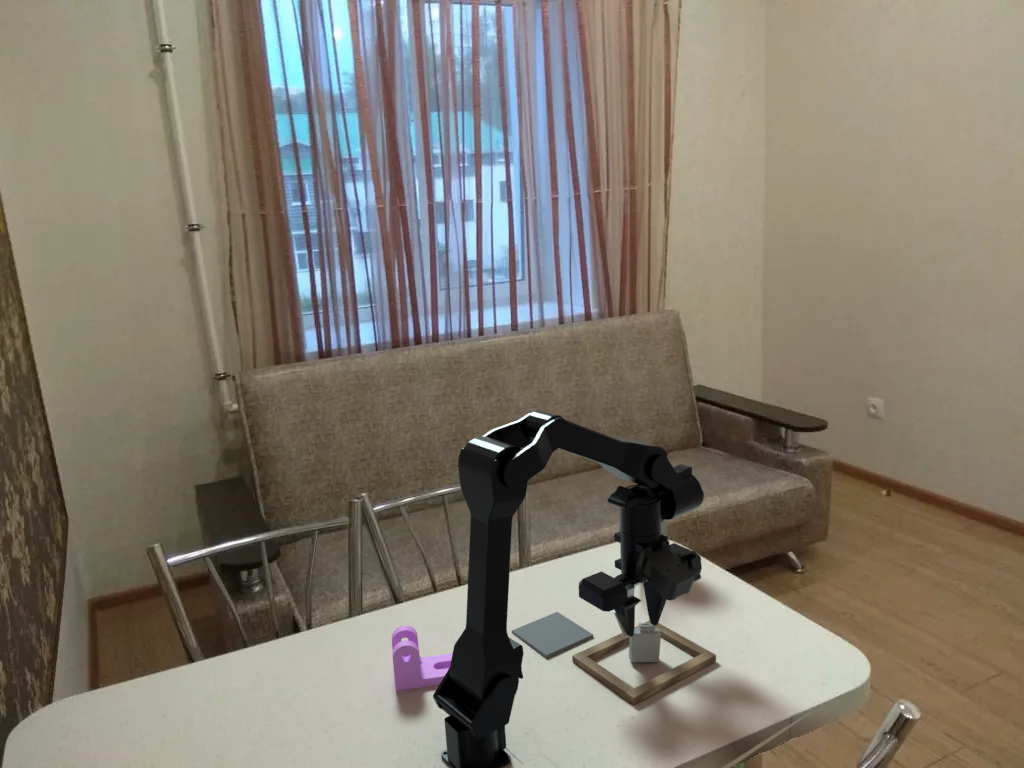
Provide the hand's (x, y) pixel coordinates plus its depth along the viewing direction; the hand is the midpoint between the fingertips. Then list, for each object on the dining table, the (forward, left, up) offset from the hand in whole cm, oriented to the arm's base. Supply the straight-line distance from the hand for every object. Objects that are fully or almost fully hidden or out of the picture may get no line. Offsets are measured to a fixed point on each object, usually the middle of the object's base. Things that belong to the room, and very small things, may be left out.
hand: (642, 629), depth 115 cm
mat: (-6, +14, -5) cm, 16 cm away
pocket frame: (0, 0, -5) cm, 5 cm away
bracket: (-24, +16, -6) cm, 30 cm away
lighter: (-1, +1, -5) cm, 5 cm away
